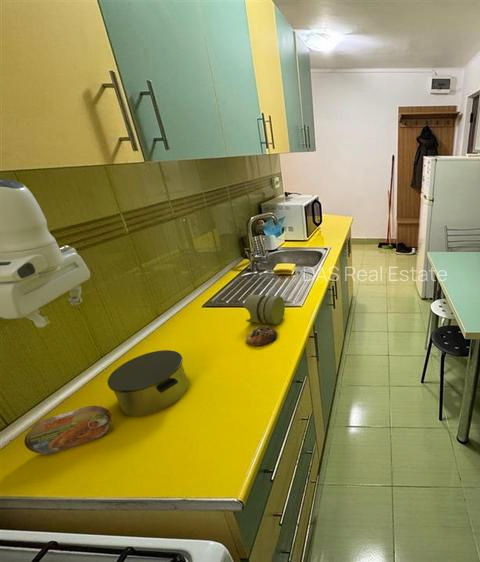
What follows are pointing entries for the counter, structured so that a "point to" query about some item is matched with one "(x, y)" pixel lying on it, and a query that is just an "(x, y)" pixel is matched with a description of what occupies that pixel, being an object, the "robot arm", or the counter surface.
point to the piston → (265, 309)
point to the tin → (68, 430)
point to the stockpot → (149, 382)
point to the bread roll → (261, 335)
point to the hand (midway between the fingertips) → (61, 313)
